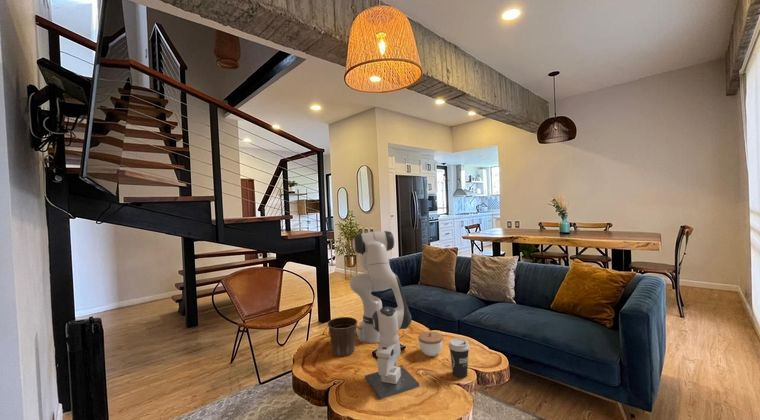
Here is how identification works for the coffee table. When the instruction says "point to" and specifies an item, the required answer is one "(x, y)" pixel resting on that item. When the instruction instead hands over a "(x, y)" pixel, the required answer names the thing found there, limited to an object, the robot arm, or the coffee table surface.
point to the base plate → (390, 389)
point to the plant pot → (342, 335)
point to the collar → (393, 376)
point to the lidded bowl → (430, 343)
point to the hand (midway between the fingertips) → (390, 374)
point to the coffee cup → (459, 357)
